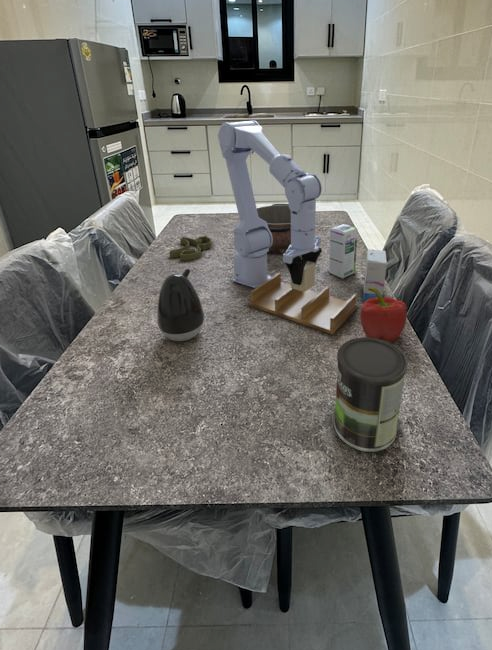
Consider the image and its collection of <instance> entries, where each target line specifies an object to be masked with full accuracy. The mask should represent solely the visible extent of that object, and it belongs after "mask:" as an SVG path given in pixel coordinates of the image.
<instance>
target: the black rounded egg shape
mask: <svg viewBox="0 0 492 650" xmlns="http://www.w3.org/2000/svg"><path fill="white" fill-rule="evenodd" d="M190 273H191V270H190V269H189V268H186V269H185V270H184V271H183V273H182V274H180V273H173V274H170V275H169V276H167V277H166V278H165V279H164V280H163V283H162V284H161V287H160V291H159V295H158V301H157V308H156V310H157V311H156V319H157V320H156V321H157V326H158V329H159V330H160V331H161V332H162V334H163V335H164V337H166V338H167V339H169V340H171V341H174V342H185V341H189V340H191V339H193V338H195V337H196V336H198V334H199V333H200V331H201V330H202V327H203V324H204V321H205V312H204V309H203V305H202V302H201V299H200V297H199V295H198V292H197V290H196V288H195V287H194V286H193V283H192V282H191V281H190V279H189V278H188V277H189V275H190Z"/></svg>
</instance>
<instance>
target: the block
mask: <svg viewBox="0 0 492 650" xmlns="http://www.w3.org/2000/svg"><path fill="white" fill-rule="evenodd" d="M315 277H316V264H315V263H314V262H310V261H307V263H306V264H305V267H304V270H303V277H302V283H301V285H297V284H293V282H292V279H291V278H290V284H291V288H292V289H296V290H299V291H302V292H305V291H307V290H310V289H311V288H312V287H313V286H314V285H315V284H316V283H315V281H316V280H315V279H316V278H315Z"/></svg>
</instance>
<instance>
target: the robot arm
mask: <svg viewBox="0 0 492 650" xmlns="http://www.w3.org/2000/svg"><path fill="white" fill-rule="evenodd" d="M217 138H218V143H219V147H220V151H221V155H222V158H223V159H225V164H226V168H227V173H228V177H229V180H230V185H231V188H232V193H233V198H234V201H235V206H236V210H237V215H238V218H239V222H238V224H237V225H236V226H235V227H234V228H233V230H232V232H233V245H234V249H235V251H236V252H235V253H234V255H233V258H232V259H233V261H232V262H233V277H234V278H233V279H232V282H235V283H237V284H241V285H244V286H247V287H249V288H253V289H255V288H256V287H258V286H259V285H261V284H262V283H264V282H265V281H267V280H268V279H270V278H271V277H273V276H272V275H269V274H268V273H269V272H268V253H267V252H268V251H269V247H271V246H272V243H273V237H272V234H271V232H270V230H269V228H268V224H267V222H266V221H264V220H262V219H261V218H259V216H258V212H257V208H258V207H257V204H256V199H255V195H254V190H253V186H252V182H251V178H250V174H249V168H248V164H247V159H248V157H249V156H250V155H251V154H252V153H253V152H254V153H256V155H257V156H259V158H261V159H262V160H263V161H264V162H266V163H267V165H268V166H269V169H268V170H269V173H270V174H271V175H272V176H273V177H274V178H275V179H276V181H277V182H278V183H279V184H280V186H282V187H283V188H284V194H285V197H286V199H287V202H288V203H287V204H289V209H290V210H291V244H290V246H289V248H288V249H287V251H286V252H285V253H284V254H282V263H284V265H285V266H286V267H287V270H288V272H289V275H290V280H291V279H292V282H293V284H297V285H301V283H302V277H303V270H304V267H305V264H306V263H307V261H310V262H314V263H315V265H317V262H318V259H319V257H320V255H321V254H322V252H323V248H322V247H319V245H321V244H322V243H321V242H322V236H319V235H316V216H317V215H316V214H317V213H316V212H317V211H316V210H317V209H316V208H317V199H318V198H319V197H320V196H321V194H322V190H323V189H322V184H321V183H322V182H321V180H320V179H319V178H318V176H317V175H316V174H315V173H308V172H307V171H304V169H303V168H301V167H300V166H299V165H298V164H297V163H296V162H295V161H294V160H293V157H292V156H291V155H290V154H287V153H285V154H284V153H282V154H280V152H279V151H278V150H277V149H276V148H275V147H274V145H273V144H272V143H271V142H270V140H269V139H268V138H267V136H266V135H265V134H264V127H263V126H262V125H261V124H260V123H259V122H258V121H256V120H253V119H251V120H247V121H245V120H244V121H236V122H235V121H233V122H227V121H225V122H222V123H221V125H220V127H219V130H218V133H217ZM254 228H257V229H255V230H251V229H254ZM248 230H251V231H248Z"/></svg>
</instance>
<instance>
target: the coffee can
mask: <svg viewBox="0 0 492 650" xmlns="http://www.w3.org/2000/svg"><path fill="white" fill-rule="evenodd" d="M336 359H337V368H336V387H335V405H334V417H333V427H334V430H335V432H336V434H337V436H338V437H339V439H341V441H342V442H343V443H345V444H346V445H347V446H349V447H351V448H353V449H355V450H358V451H361V452H367V453H375V452H380V451H383V450H385V449H387V448H388V447H390V446H391V445H392V444H393V443H394V442H395V440H396V437H397V432H398V431H397V430H398V424H399V423H398V421H399V415H400V409H401V402H402V395H403V391H404V390H403V389H404V382H405V376H406V372H407V370H408V360H407V357H406V354H405V353H404V352H403V351H402V350H401V349H400V348H398V347H397V346H396V345H394V344H393V343H391V342H387V341H384V340H381V339H377V338H370V337H368V336H363V337H356V338H351V339H349V340H347V341H345V342H344V343H342V345H341V346H339V348H338V350H337V353H336Z"/></svg>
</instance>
